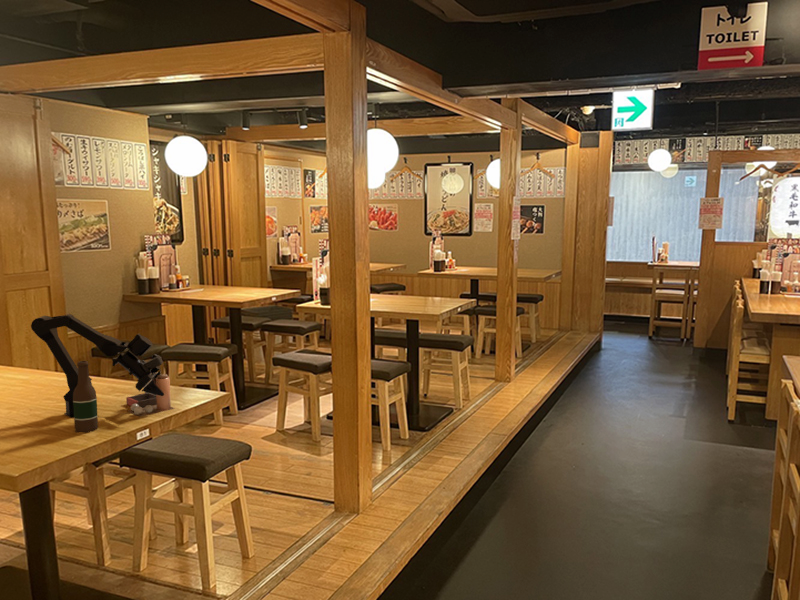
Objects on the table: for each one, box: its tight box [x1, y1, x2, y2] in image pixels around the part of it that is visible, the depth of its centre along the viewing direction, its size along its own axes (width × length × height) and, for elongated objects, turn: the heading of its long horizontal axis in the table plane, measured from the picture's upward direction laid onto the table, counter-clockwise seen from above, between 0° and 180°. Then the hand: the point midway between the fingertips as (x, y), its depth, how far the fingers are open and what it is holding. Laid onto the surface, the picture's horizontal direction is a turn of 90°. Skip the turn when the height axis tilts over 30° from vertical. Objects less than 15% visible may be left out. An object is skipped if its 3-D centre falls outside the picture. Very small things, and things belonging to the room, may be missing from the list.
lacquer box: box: [125, 392, 157, 408], centre depth 245 cm, size 9×9×4 cm
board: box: [126, 405, 176, 418], centre depth 238 cm, size 14×10×1 cm
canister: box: [156, 373, 172, 412], centre depth 239 cm, size 5×5×13 cm
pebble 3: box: [144, 405, 153, 413], centre depth 234 cm, size 3×3×3 cm
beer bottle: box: [73, 360, 99, 433], centre depth 216 cm, size 8×8×24 cm
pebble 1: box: [130, 404, 139, 411], centre depth 235 cm, size 3×3×3 cm
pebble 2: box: [134, 406, 143, 416], centre depth 232 cm, size 3×3×3 cm
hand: (165, 391), depth 239 cm, fingers open, 9 cm apart
